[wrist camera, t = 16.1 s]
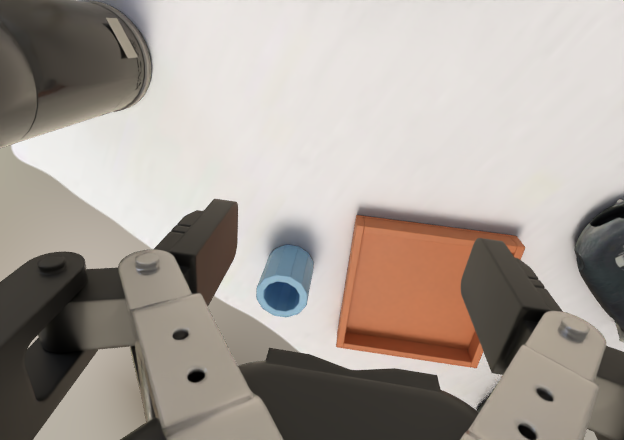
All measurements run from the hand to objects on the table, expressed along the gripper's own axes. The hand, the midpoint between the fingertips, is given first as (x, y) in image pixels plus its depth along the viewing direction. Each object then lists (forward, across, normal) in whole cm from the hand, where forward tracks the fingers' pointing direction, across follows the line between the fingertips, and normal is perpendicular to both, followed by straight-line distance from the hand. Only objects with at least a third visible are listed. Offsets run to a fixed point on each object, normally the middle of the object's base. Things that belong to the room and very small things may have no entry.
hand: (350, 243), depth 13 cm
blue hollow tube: (+25, +4, +18) cm, 31 cm away
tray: (+25, -10, +19) cm, 33 cm away
